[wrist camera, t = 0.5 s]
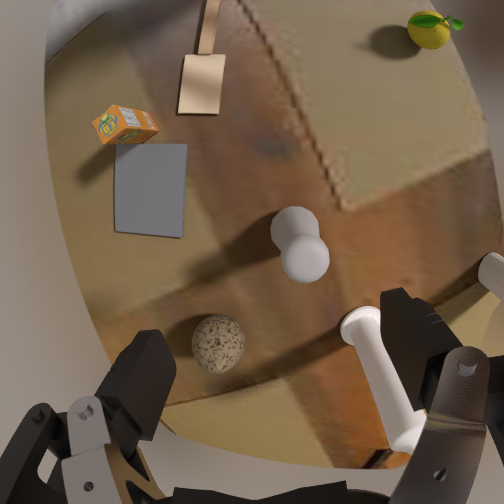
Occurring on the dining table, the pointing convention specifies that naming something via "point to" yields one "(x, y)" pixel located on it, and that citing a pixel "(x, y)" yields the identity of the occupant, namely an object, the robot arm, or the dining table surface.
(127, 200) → the mat
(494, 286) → the paper towel roll
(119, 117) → the supplement box
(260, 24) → the dining table surface
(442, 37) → the lemon
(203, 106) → the turner
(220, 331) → the decorative egg
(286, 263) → the salt shaker
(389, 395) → the candle
